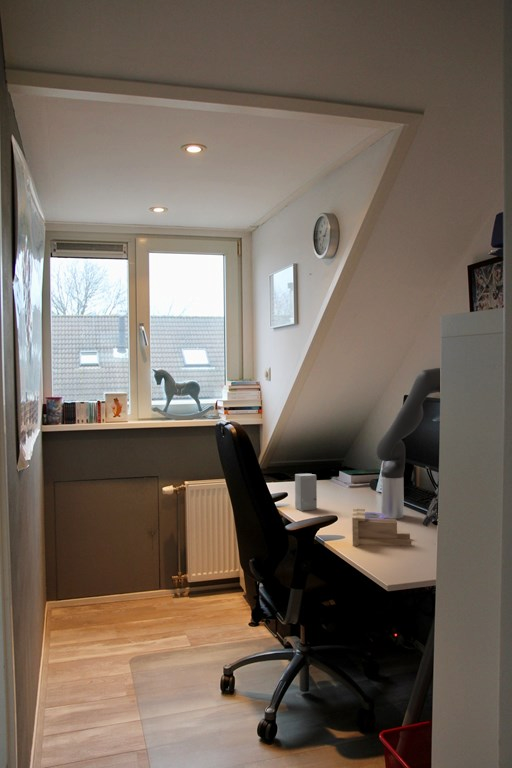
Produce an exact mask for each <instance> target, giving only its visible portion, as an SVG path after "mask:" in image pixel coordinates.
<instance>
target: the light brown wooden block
mask: <svg viewBox="0 0 512 768" xmlns="http://www.w3.org/2000/svg"><path fill="white" fill-rule="evenodd" d="M397 533H398V519H389V518H386V519H365V521H358V538H376V539H397Z"/></svg>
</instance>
